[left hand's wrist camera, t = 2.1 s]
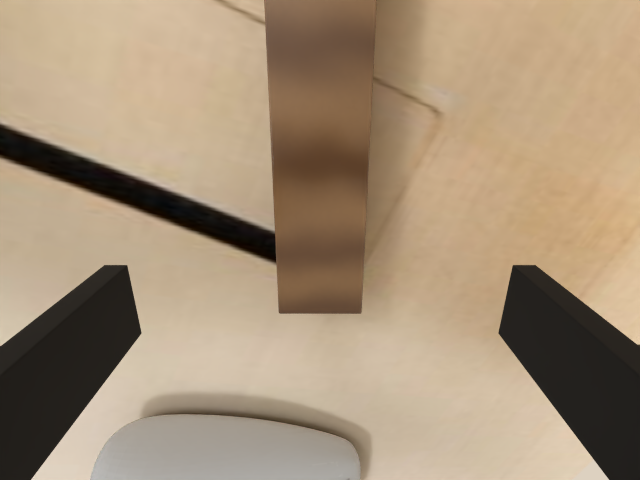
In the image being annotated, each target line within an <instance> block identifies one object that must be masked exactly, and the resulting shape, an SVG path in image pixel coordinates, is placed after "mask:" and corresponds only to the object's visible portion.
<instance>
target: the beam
mask: <svg viewBox="0 0 640 480" xmlns="http://www.w3.org/2000/svg"><path fill="white" fill-rule="evenodd" d="M264 3H265V25H266V46H267V68H268V89H269V111H270V132H271V153H272V175H273V196H274V218H275V239H276V261H277V282H278V304H279V313H322V314H360V313H361V311H362V290H363V270H364V249H365V229H366V208H367V188H368V167H369V147H370V126H371V106H372V85H373V65H374V44H375V24H376V3H377V0H264Z"/></svg>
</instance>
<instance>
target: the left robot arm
mask: <svg viewBox="0 0 640 480" xmlns="http://www.w3.org/2000/svg"><path fill="white" fill-rule="evenodd" d="M140 335H141V329H140V324H139V319H138V314H137V310H136V305H135V300H134V296H133V291H132V286H131V281H130V277H129V272H128V267H127V265H104V266H103V267H102V268H100V269H99V270H98V271H97V272H95V273H94V274H93V275H91V276H90V277H89V278H88V279H86V280H85V281H84V282H83V283H81V284H80V285H79V286H77V287H76V288H75V289H74V290H72V291H71V292H70V293H68V294H67V295H66V296H65V297H63V298H62V299H61V300H59V301H58V302H57V303H56V304H54V305H53V306H52V307H51V308H49V309H48V310H47V311H45V312H44V313H43V314H42V315H40V316H39V317H38V318H36V319H35V320H34V321H33V322H31V323H30V324H29V325H27V326H26V327H25V328H24V329H22V330H21V331H20V332H18V333H17V334H16V335H15V336H13V337H12V338H11V339H10V340H8V341H7V342H6V343H4V344H3V345H2V346H0V480H31V479H32V477H33V476H34V475H35V473H36V472H37V471H38V469H39V468H40V467H41V466H42V464H43V463H44V462H45V460H46V459H47V458H48V456H49V455H50V454H51V452H52V451H53V450H54V448H55V447H56V446H57V444H58V443H59V442H60V440H61V439H62V438H63V436H64V435H65V434H66V432H67V431H68V430H69V428H70V427H71V426H72V425H73V423H74V422H75V421H76V419H77V418H78V417H79V415H80V414H81V413H82V411H83V410H84V409H85V407H86V406H87V405H88V403H89V402H90V401H91V399H92V398H93V397H94V395H95V394H96V393H97V391H98V390H99V389H100V387H101V386H102V385H103V383H104V382H105V381H106V380H107V378H108V377H109V376H110V374H111V373H112V372H113V370H114V369H115V368H116V366H117V365H118V364H119V362H120V361H121V360H122V358H123V357H124V356H125V354H126V353H127V352H128V350H129V349H130V348H131V346H132V345H133V344H134V342H135V341H136V340H137V339H138V337H139V336H140ZM499 335H500V336H501V337H502V339H503V340H504V341H505V342H506V344H507V345H508V346H509V348H510V349H511V350H512V352H513V353H514V354H515V356H516V357H517V358H518V360H519V361H520V362H521V364H522V365H523V366H524V368H525V369H526V370H527V372H528V373H529V374H530V376H531V377H532V378H533V380H534V381H535V382H536V383H537V385H538V386H539V387H540V389H541V390H542V391H543V393H544V394H545V395H546V397H547V398H548V399H549V401H550V402H551V403H552V405H553V406H554V407H555V409H556V410H557V411H558V413H559V414H560V415H561V417H562V418H563V419H564V421H565V422H566V423H567V425H568V426H569V427H570V428H571V430H572V431H573V432H574V434H575V435H576V436H577V438H578V439H579V440H580V442H581V443H582V444H583V446H584V447H585V448H586V450H587V451H588V452H589V454H590V455H591V456H592V458H593V459H594V460H595V462H596V463H597V464H598V465H599V467H600V468H601V469H602V471H603V472H604V473H605V475H606V476H607V477H608V479H609V480H640V345H637V344H636V343H634V342H633V341H632V340H630V339H629V338H628V337H627V336H625V335H624V334H623V333H622V332H620V331H619V330H618V329H616V328H615V327H614V326H613V325H611V324H610V323H609V322H607V321H606V320H605V319H604V318H602V317H601V316H600V315H598V314H597V313H596V312H595V311H593V310H592V309H591V308H589V307H588V306H587V305H586V304H584V303H583V302H582V301H581V300H579V299H578V298H577V297H575V296H574V295H573V294H572V293H570V292H569V291H568V290H566V289H565V288H564V287H563V286H561V285H560V284H559V283H557V282H556V281H555V280H554V279H552V278H551V277H550V276H549V275H547V274H546V273H545V272H543V271H542V270H541V269H540V268H538V267H537V266H536V265H513V267H512V272H511V277H510V281H509V286H508V291H507V296H506V300H505V305H504V310H503V314H502V319H501V324H500V329H499Z"/></svg>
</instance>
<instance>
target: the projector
mask: <svg viewBox="0 0 640 480" xmlns="http://www.w3.org/2000/svg"><path fill="white" fill-rule="evenodd" d="M360 470H361V468H360V460H359V457H358V454H357V451H356V449H355V448H354V446H353V445H352V444H351V443H350V442H349V441H348V440H346V439H344V438H341V437H339V436H336V435H333V434H329V433H326V432H322V431H318V430H314V429H310V428H306V427H301V426H296V425H292V424H286V423H281V422H275V421H268V420H261V419H254V418H245V417H235V416H221V415H201V414H174V415H160V416H152V417H147V418H142V419H139V420H136V421H134V422H131V423H129V424H127V425H126V426H124V427H122V428H121V429H119V430H118V431H117V432H116V433H115V434H113V435H112V436H111V438H110V439H109V440H108V441H107V442H106V444H105V445H104V447H103V448H102V450H101V452H100V454H99V456H98V458H97V460H96V462H95V465H94V468H93V471H92V474H91V478H90V480H360Z"/></svg>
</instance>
